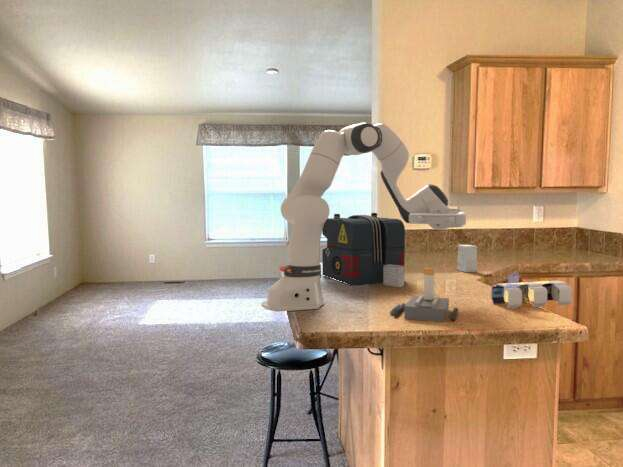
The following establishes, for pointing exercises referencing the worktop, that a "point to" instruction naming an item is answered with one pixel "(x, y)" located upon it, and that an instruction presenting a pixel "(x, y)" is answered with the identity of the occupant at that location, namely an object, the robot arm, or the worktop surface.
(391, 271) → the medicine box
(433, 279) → the lever
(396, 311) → the cords
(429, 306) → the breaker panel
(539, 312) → the worktop surface
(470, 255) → the small box
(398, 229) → the power unit
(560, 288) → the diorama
